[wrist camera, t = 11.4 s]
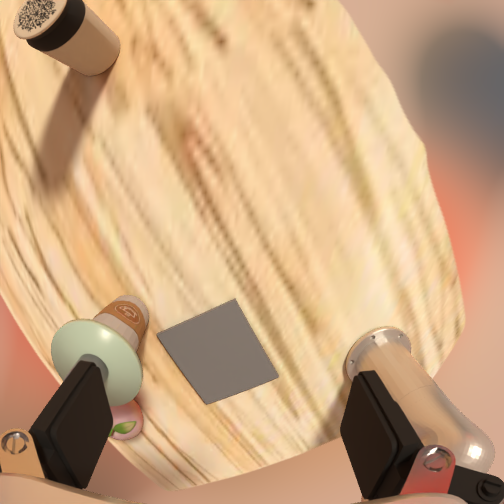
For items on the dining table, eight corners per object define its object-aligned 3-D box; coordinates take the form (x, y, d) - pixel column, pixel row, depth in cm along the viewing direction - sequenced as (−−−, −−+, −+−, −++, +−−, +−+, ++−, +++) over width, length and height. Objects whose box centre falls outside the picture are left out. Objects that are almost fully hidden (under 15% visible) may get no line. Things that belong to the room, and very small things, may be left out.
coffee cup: (165, 307, 47) (138, 360, 33) (141, 344, 49) (113, 400, 34) (120, 277, 46) (78, 319, 31) (100, 315, 48) (59, 364, 33)
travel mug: (96, 85, 39) (31, 50, 21) (67, 62, 37) (1, 27, 20) (131, 44, 37) (81, -9, 20) (99, 24, 36) (46, -26, 18)
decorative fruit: (125, 421, 53) (111, 456, 44) (97, 393, 52) (79, 426, 42) (159, 408, 53) (148, 445, 43) (130, 378, 51) (114, 413, 41)
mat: (278, 374, 51) (278, 376, 51) (206, 402, 52) (206, 404, 52) (235, 298, 47) (234, 299, 47) (157, 333, 48) (156, 335, 48)
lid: (162, 387, 34) (152, 418, 29) (93, 409, 35) (79, 436, 30) (103, 303, 31) (82, 325, 26) (38, 337, 32) (16, 359, 27)
